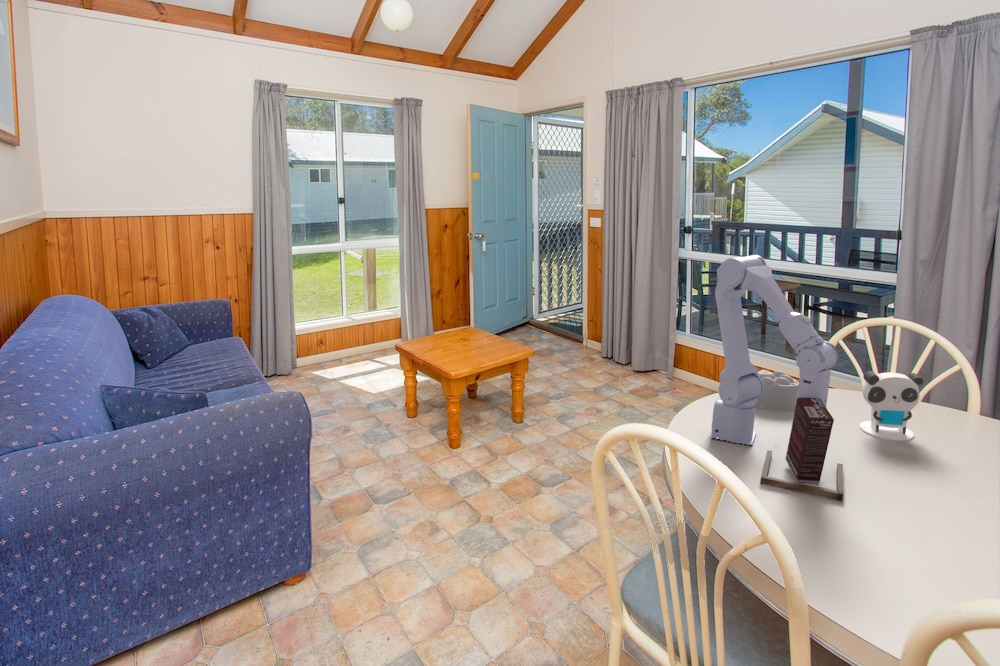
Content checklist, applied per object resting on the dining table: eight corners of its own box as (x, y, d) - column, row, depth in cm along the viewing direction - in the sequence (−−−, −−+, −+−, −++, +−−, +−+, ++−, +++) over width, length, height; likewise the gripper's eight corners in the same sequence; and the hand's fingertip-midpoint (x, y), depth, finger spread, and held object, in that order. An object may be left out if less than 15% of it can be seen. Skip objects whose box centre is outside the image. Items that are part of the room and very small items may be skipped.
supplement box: (820, 484, 124) (835, 419, 117) (796, 483, 124) (809, 418, 118) (807, 459, 131) (820, 397, 125) (784, 458, 132) (796, 396, 126)
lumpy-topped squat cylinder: (757, 392, 174) (760, 364, 172) (803, 404, 165) (807, 375, 163) (740, 402, 168) (743, 373, 165) (788, 415, 158) (791, 384, 156)
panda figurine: (865, 438, 144) (874, 380, 140) (850, 419, 155) (858, 365, 151) (921, 443, 141) (932, 383, 137) (902, 423, 152) (912, 367, 148)
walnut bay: (760, 483, 124) (760, 477, 124) (766, 456, 136) (767, 450, 136) (842, 501, 117) (843, 494, 117) (841, 470, 129) (842, 464, 129)
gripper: (833, 412, 120) (825, 473, 124) (833, 389, 132) (825, 445, 136) (794, 407, 123) (787, 466, 127) (797, 385, 136) (791, 440, 139)
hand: (805, 455), depth 132 cm, fingers closed, pressing on supplement box
